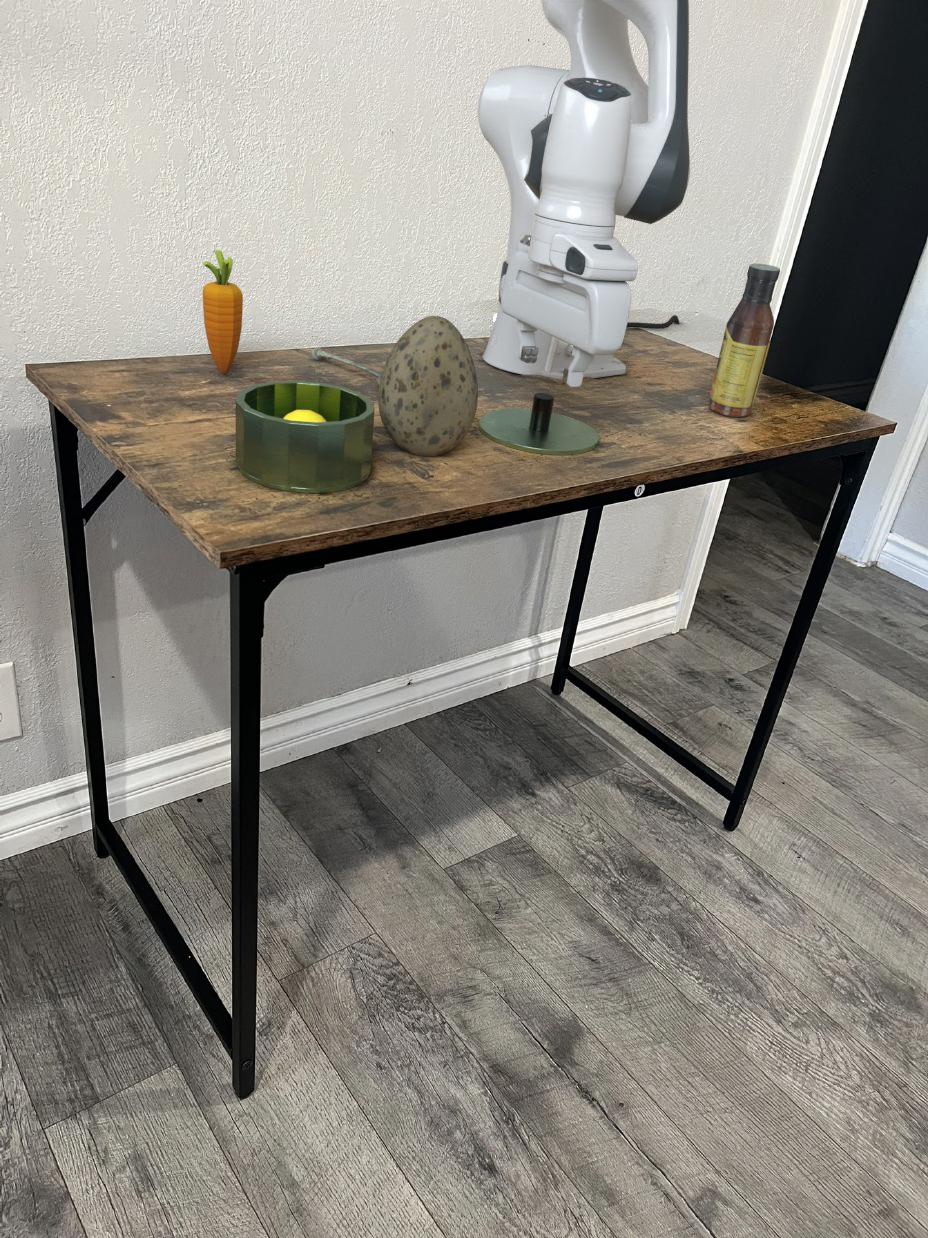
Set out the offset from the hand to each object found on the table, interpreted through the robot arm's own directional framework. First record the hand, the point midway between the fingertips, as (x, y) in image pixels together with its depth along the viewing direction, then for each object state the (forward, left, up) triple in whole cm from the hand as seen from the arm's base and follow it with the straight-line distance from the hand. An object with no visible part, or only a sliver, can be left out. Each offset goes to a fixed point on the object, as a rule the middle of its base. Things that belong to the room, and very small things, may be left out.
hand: (548, 372), depth 110 cm
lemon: (+31, +2, -8) cm, 32 cm away
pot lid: (0, 0, -8) cm, 8 cm away
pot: (+31, +3, -8) cm, 32 cm away
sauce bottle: (-35, -4, -8) cm, 36 cm away
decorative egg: (+16, +2, -8) cm, 18 cm away
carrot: (+30, -29, -8) cm, 43 cm away
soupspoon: (+12, -24, -8) cm, 28 cm away
